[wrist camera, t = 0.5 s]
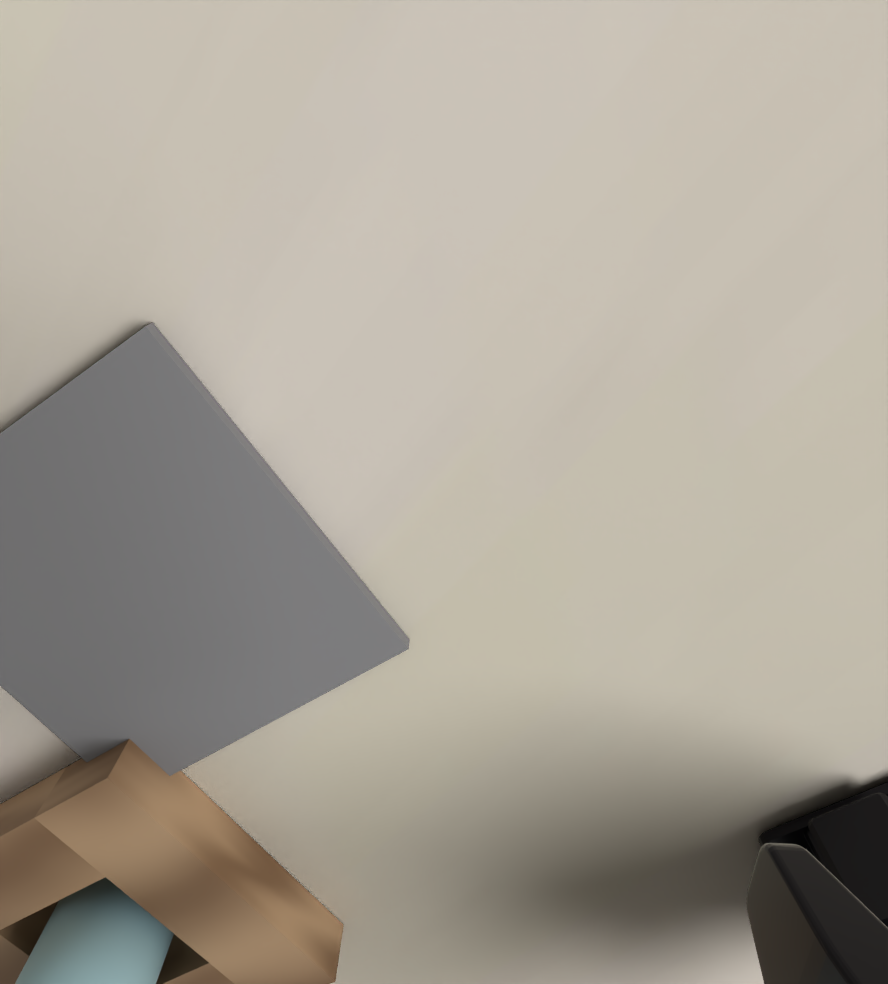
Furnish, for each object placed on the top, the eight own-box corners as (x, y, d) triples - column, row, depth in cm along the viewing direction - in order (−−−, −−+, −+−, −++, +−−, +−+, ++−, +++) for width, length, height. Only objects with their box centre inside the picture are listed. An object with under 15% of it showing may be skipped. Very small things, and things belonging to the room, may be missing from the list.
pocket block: (343, 924, 29) (335, 981, 27) (122, 1020, 32) (101, 1078, 30) (135, 728, 25) (107, 777, 23) (-96, 858, 28) (-139, 912, 26)
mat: (409, 638, 23) (408, 648, 23) (133, 787, 26) (127, 798, 26) (152, 322, 19) (145, 326, 19) (-142, 539, 22) (-155, 547, 22)
